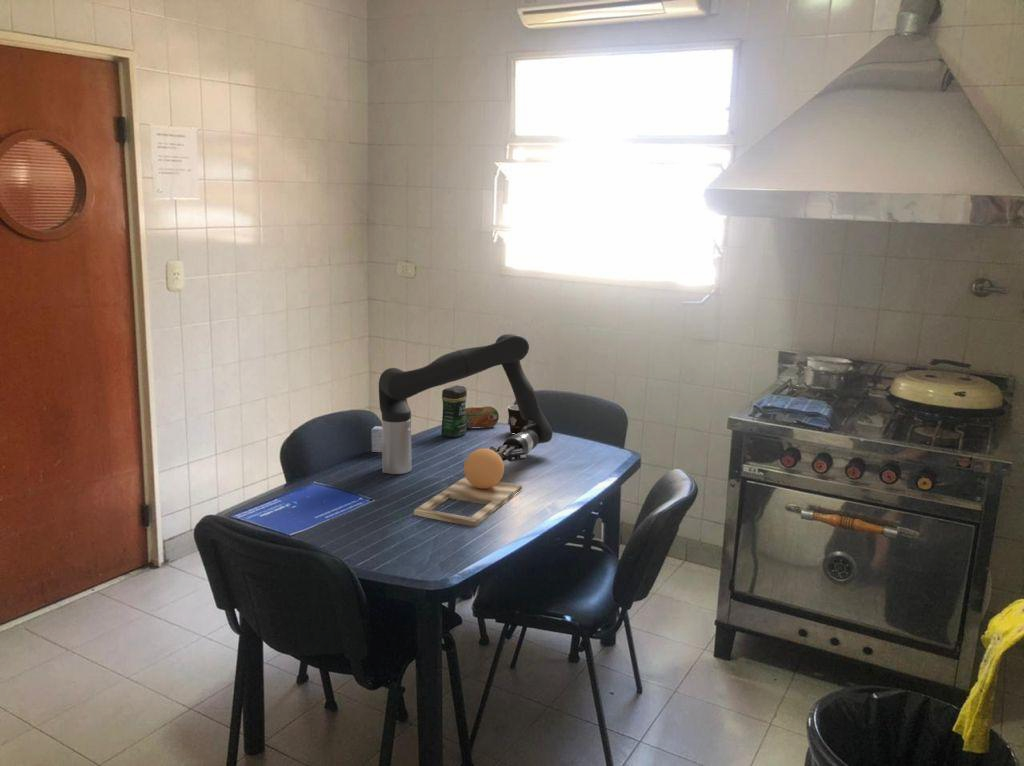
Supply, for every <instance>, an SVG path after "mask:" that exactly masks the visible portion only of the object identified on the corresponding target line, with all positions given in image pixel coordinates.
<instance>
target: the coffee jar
mask: <svg viewBox="0 0 1024 766" xmlns="http://www.w3.org/2000/svg"><path fill="white" fill-rule="evenodd" d="M467 391H468V390H467V388H466V387H465V386H462V385H454V386H450V387H447V388H444V389H443V390H442V392H441V399H442V400H441V401H442V418H441V419H442V420H441V435H442V436H443V437H445V436H447V437H446V438H449V437H450V438H459V437H462V436H463V435H466V434H467V428H466V408H467V407H466V403H467V397H468V396H467V395H468V394H467V393H468V392H467ZM465 433H466V434H465ZM461 435H462V436H461ZM458 436H459V437H458Z"/></svg>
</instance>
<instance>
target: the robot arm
mask: <svg viewBox="0 0 1024 766" xmlns="http://www.w3.org/2000/svg"><path fill="white" fill-rule="evenodd" d="M529 350H530V344H529V341H528V340H527V338H525V337H524V336H522V335H520V334H517V333H512V334H511V333H509V334H508V333H507V334H503V335H500V336H499V337H498V338H497V339H496V340H495V343H491V344H488V345H482V346H476V347H475V346H474V347H468V348H462V349H459V350H455V351H452V352H448V353H446V354H443V355H441V356H439V357H438V358H435V359H434V360H433V361H432V362H430V363H429V364H427V365H426V366H425V365H424V366H423V367H420V368H416V369H411V370H406V371H404V370H402V369H400V368H397V367H389V368H387V369H385V370H384V371H383V372H382V373H381V374H380V376H379V380H378V399H379V400H378V401H379V411H380V412H381V426H382V453H381V461H382V462H381V463H382V467H381V470H382V471H381V472H382V473H383V474H389V475H403V474H407V473H409V472H411V471H412V469H413V468H412V465H413V463H412V411H411V408H410V406H409V404H408V399H409V398H412V397H414V396H415V395H418V394H419V393H422V392H424V391H426V390H429V389H432V388H436V387H439V386H442V385H447V384H450V383H452V382H456V381H459V380H463V379H465V378H468V377H470V376H473V375H476V374H480V373H481V372H483V371H486V370H488V369H491V368H493V367H497V366H500V365H501V366H502V368H503V370H504V372H505V375H506V377H507V379H508V382H509V384H510V387H511V390H512V392H513V395H514V398H515V401H516V405H518V408H519V411H520V414H521V417H522V418H523V419H525V420H529V421H533V422H535V423H534V424H532V423H530V424H531V425H530V424H528V425H527V426H524V427H523V428H522V430H521V432H520V433H518V434H515V435H513V434H512V435H511V436H510V437H509V438H507V439H506V440H505V441H504V442H503V444H501V445H500V446H498V447H494V446H493V445H492V446H489V449H491V450H493V451H495V452H496V453H497V454H498V455H499V456H500V457H501V459H502V461H503V462H507V461H508V462H510V463H511V462H518V461H524V460H526V457H527V456H526V455H528V454H529V452H531V451H532V450H533V449H534V448H537V445H538V444H544V443H549V442H550V441H551V440H552V438H553V428H552V426H551V425H550V423H549V421H548V420H547V418H546V416H545V415H544V412H542V410H541V408H540V405H539V402H538V398H537V394H536V392H535V390H534V388H533V386H532V384H531V383H530V380H529V379H528V377H527V376H526V374H525V372H524V370H523V368H522V364H521V361H522V360H523V359H524V358H525V357H526V356H527V355H528V354H529Z"/></svg>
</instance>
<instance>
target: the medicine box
mask: <svg viewBox="0 0 1024 766" xmlns="http://www.w3.org/2000/svg"><path fill="white" fill-rule="evenodd" d="M372 452H382V425H381V426H380V425H379V426H377V425H375V426H374V427H372V429H371V453H372Z"/></svg>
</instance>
